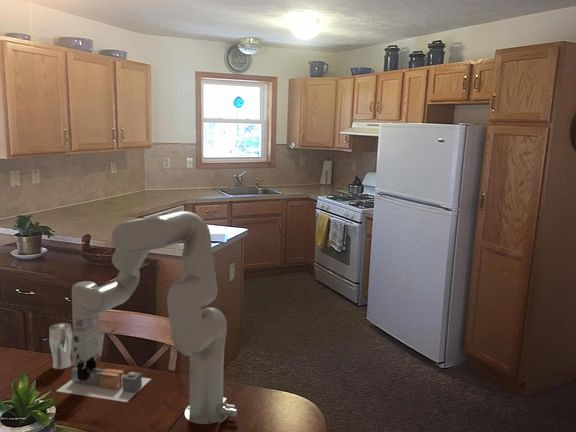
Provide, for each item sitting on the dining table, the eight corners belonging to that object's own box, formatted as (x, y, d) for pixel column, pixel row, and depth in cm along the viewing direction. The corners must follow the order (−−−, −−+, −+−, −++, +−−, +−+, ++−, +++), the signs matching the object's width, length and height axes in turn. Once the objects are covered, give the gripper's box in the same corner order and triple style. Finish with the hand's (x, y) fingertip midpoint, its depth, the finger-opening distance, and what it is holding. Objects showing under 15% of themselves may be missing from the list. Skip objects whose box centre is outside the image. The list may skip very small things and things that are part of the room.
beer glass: (64, 374, 164) (62, 331, 162) (46, 372, 165) (44, 329, 163) (77, 365, 171) (76, 324, 168) (59, 363, 172) (57, 322, 170)
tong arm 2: (124, 382, 156) (124, 370, 156) (121, 385, 154) (120, 373, 154) (79, 376, 159) (78, 364, 159) (75, 379, 158) (74, 367, 157)
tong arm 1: (120, 386, 154) (119, 373, 153) (116, 389, 152) (116, 376, 151) (75, 379, 158) (75, 366, 157) (71, 382, 156) (71, 369, 155)
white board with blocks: (151, 382, 160) (151, 364, 159) (126, 405, 146) (126, 386, 145) (85, 372, 165) (85, 355, 164) (55, 394, 151) (55, 375, 150)
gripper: (79, 332, 145) (81, 390, 148) (111, 313, 161) (112, 366, 164) (57, 329, 146) (59, 387, 149) (91, 311, 162) (92, 363, 165)
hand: (87, 375), depth 156 cm, fingers open, 3 cm apart
